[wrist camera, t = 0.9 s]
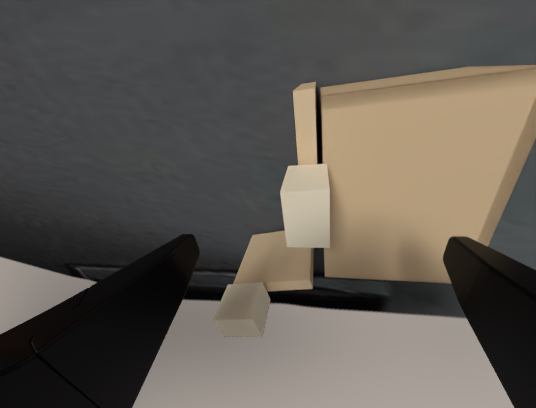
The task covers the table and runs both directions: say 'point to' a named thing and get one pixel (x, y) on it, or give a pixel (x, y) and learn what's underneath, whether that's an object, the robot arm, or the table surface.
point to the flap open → (262, 283)
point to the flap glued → (306, 180)
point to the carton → (421, 165)
